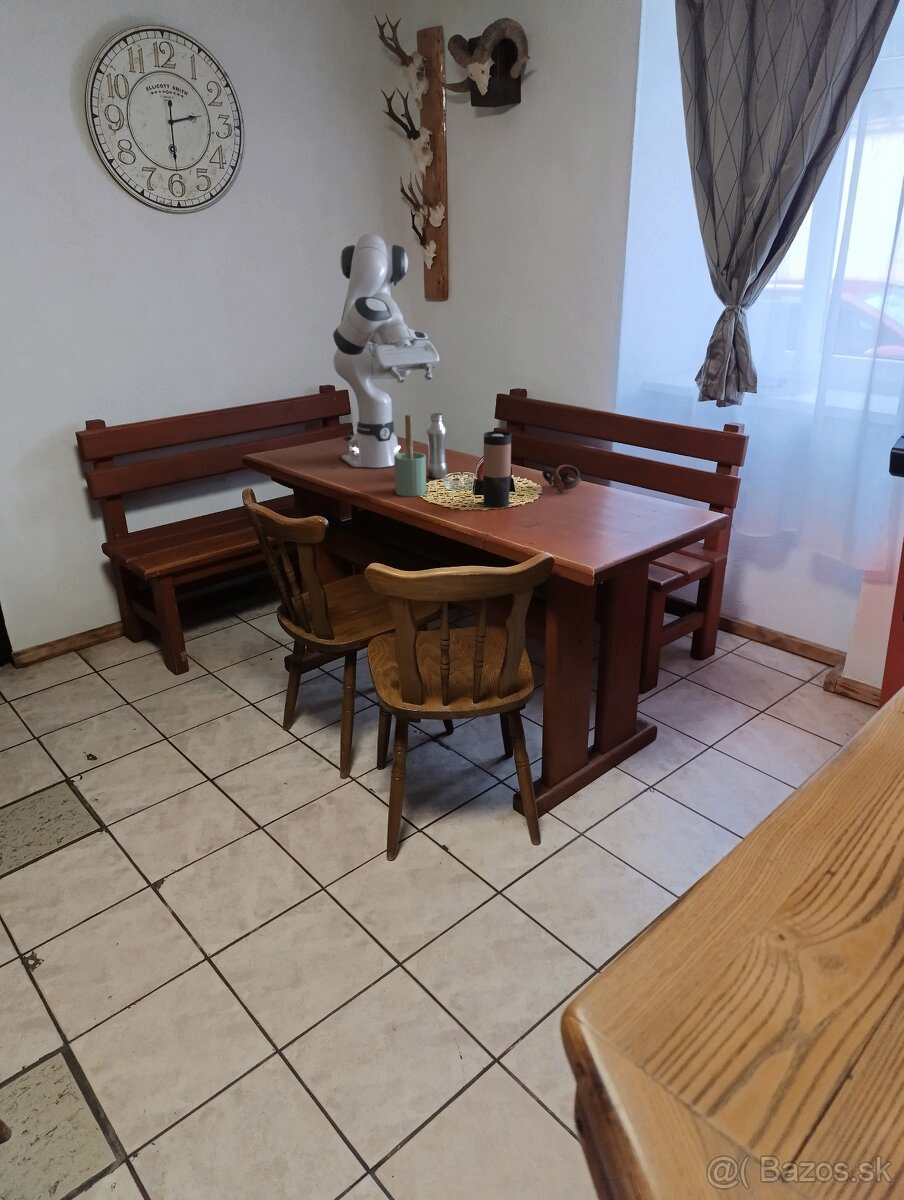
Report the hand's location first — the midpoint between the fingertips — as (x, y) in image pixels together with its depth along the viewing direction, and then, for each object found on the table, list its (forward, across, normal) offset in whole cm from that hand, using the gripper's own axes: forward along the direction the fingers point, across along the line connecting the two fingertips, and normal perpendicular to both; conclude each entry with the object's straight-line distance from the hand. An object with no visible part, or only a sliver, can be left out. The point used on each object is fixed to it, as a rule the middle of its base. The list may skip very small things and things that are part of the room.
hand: (415, 380), depth 237 cm
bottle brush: (+25, -6, +18) cm, 32 cm away
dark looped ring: (+42, +34, +4) cm, 54 cm away
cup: (+26, -6, +19) cm, 33 cm away
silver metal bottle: (+19, +10, +27) cm, 34 cm away
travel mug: (+43, +8, +2) cm, 44 cm away
